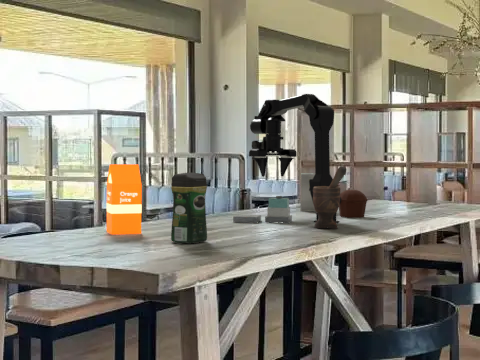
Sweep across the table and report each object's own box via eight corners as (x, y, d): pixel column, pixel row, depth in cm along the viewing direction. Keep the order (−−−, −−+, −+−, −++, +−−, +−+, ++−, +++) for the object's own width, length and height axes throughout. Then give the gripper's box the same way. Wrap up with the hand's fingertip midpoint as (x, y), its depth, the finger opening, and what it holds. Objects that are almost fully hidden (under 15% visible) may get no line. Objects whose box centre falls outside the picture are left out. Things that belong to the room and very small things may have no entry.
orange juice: (106, 231, 232) (106, 164, 231) (135, 230, 235) (136, 164, 234) (111, 234, 225) (111, 164, 224) (141, 233, 228) (142, 164, 227)
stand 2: (291, 221, 272) (291, 215, 272) (288, 223, 264) (288, 217, 264) (269, 220, 273) (269, 214, 273) (265, 222, 266) (265, 216, 266)
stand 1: (260, 220, 271) (260, 215, 271) (256, 223, 263) (256, 217, 263) (238, 220, 273) (238, 214, 273) (233, 222, 265) (233, 216, 265)
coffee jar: (188, 239, 216) (189, 171, 215) (211, 241, 211) (212, 172, 210) (165, 242, 208) (165, 172, 207) (188, 245, 203) (189, 173, 202)
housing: (289, 215, 270) (290, 195, 270) (287, 216, 266) (288, 196, 265) (269, 215, 272) (270, 195, 272) (267, 216, 267) (267, 196, 267)
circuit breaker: (319, 208, 327) (319, 172, 326) (319, 211, 313) (319, 174, 312) (301, 208, 328) (301, 172, 327) (300, 211, 314) (300, 173, 313)
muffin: (373, 217, 289) (373, 190, 289) (346, 218, 285) (347, 191, 285) (356, 215, 300) (357, 188, 300) (331, 215, 296) (331, 189, 296)
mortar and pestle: (352, 228, 250) (353, 165, 249) (342, 230, 243) (343, 166, 242) (319, 226, 256) (320, 164, 255) (308, 228, 248) (309, 165, 247)
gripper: (278, 134, 301) (277, 175, 301) (239, 133, 289) (239, 176, 290) (297, 134, 292) (297, 176, 293) (259, 133, 280) (258, 177, 281)
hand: (272, 176), depth 289 cm, fingers open, 9 cm apart
